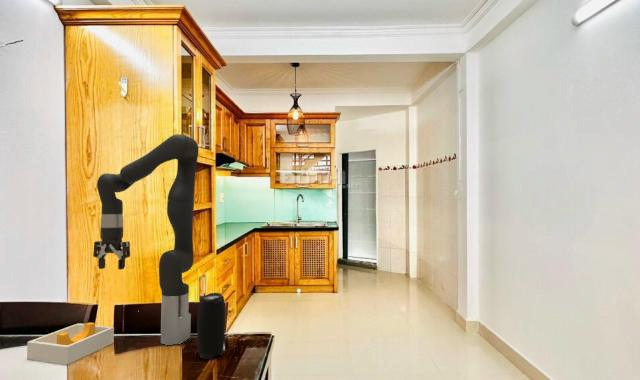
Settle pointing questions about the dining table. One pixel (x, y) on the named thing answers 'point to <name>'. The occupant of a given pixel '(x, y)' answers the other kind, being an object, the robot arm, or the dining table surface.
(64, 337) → the pipe clamp
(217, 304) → the portable speaker
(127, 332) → the dining table surface
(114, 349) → the dining table surface
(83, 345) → the walled box
